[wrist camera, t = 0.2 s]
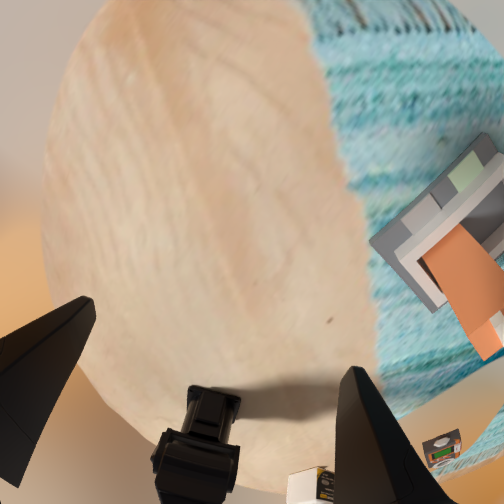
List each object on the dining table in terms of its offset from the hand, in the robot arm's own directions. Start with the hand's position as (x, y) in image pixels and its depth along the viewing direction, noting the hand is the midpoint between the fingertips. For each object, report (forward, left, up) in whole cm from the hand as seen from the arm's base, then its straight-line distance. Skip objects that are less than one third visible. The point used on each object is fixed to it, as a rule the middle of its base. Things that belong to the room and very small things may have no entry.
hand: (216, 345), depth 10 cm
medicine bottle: (-49, -20, -15) cm, 55 cm away
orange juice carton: (0, -15, -15) cm, 21 cm away
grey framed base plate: (+2, -16, -15) cm, 22 cm away
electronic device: (-36, -41, -15) cm, 57 cm away
